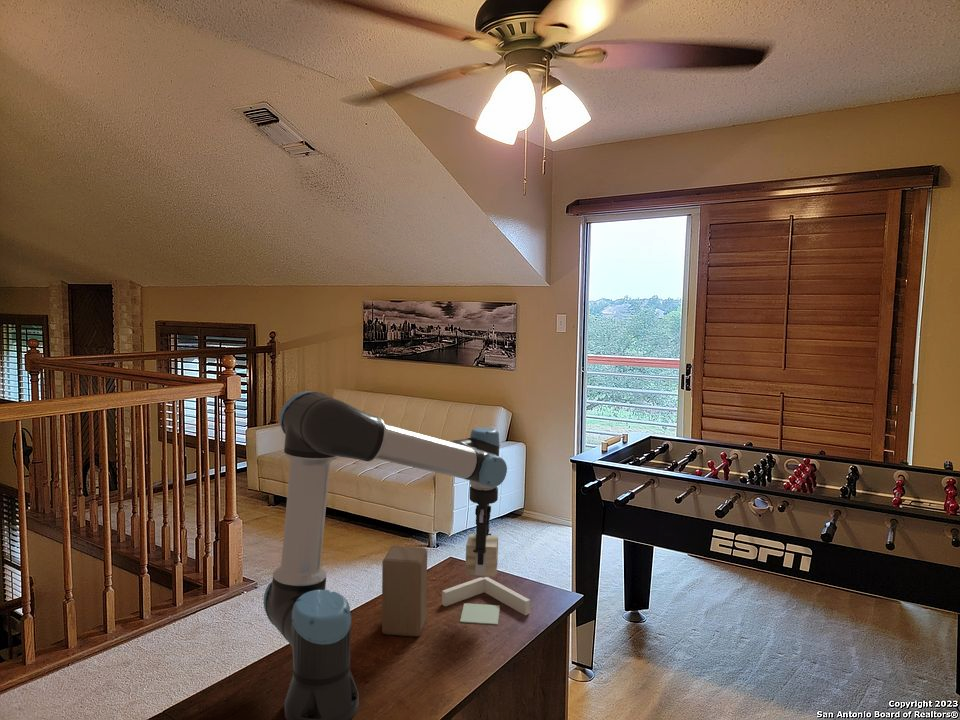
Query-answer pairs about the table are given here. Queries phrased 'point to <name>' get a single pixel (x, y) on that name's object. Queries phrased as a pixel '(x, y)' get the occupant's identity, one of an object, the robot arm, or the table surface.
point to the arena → (481, 611)
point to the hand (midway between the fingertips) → (481, 567)
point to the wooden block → (404, 591)
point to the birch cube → (490, 555)
